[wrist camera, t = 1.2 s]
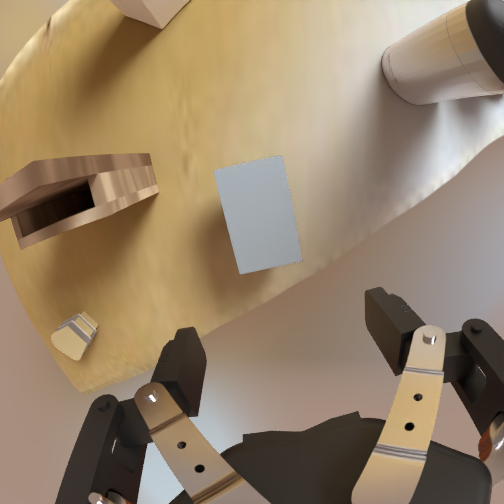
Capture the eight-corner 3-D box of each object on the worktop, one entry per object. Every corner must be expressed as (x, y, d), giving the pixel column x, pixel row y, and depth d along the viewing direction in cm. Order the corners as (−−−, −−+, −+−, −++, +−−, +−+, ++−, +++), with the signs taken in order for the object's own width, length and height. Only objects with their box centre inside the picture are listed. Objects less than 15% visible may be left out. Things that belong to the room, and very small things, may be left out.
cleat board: (149, 153, 29) (33, 161, 10) (159, 192, 31) (55, 244, 12) (73, 183, 30) (-43, 222, 11) (82, 218, 32) (-26, 278, 13)
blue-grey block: (271, 156, 30) (282, 155, 20) (287, 236, 33) (303, 269, 24) (223, 166, 30) (213, 171, 21) (243, 246, 33) (241, 282, 24)
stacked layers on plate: (75, 288, 36) (57, 306, 30) (116, 328, 38) (102, 349, 33) (55, 320, 38) (39, 337, 33) (91, 354, 40) (79, 374, 35)
